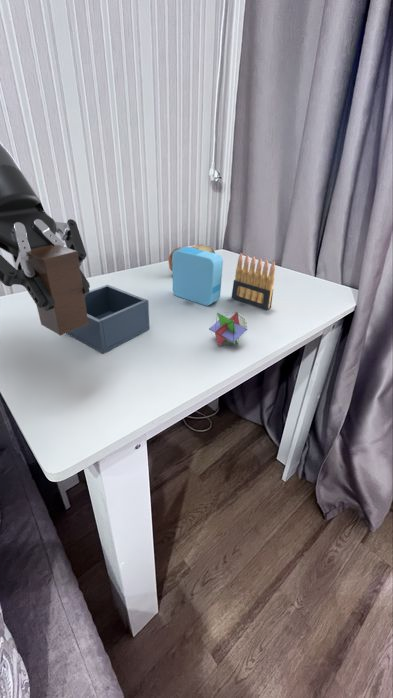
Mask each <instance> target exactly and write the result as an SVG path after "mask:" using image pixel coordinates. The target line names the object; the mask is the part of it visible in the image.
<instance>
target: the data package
mask: <svg viewBox="0 0 393 698" xmlns="http://www.w3.org/2000/svg"><path fill="white" fill-rule="evenodd" d="M183 247H184V248H181V249H179V250H176V251H174V250H173V251H174V253H173V272H172V292H173V294H174V296H176V297H179V298H182V299H185V300H187V301H190V302H193V303H196V304H200V305H203V306H206V307H208V306H210V305H212V304H214V303H215V302H216V301H218V300H219V299H220V298H221V291H222V290H221V289H222V279H223V267H224V259H223V257H222V255H220V254H219V253H216V252H215V253H212V252H208V251H203V250H199V249H195V248H191V247H187V246H183Z"/></svg>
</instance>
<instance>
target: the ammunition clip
mask: <svg viewBox="0 0 393 698" xmlns="http://www.w3.org/2000/svg"><path fill="white" fill-rule="evenodd" d="M250 260H251V261H250ZM243 261H244V262H243ZM262 261H263V259H262V257H259V259H258V261H257V263H256V256H255V255H253V256H252V258H251V259H250V256H249V254H247V253H246V256H245V258H244V260H243V253H242V252H240V253H239V255H238V257H237V264H236V269H235V275H234V279H233V282H232V283H233V284H232V291H231V296H230V298H231V299H232V300H234V301H238V302H239V303H240V302H241V303H244V304H246V305H250V306H253V307H256V308H258V309H262V310H264V311H269V310H271V308H272V305H273V304H272V302H273V297H274V296H273V294H274V284H275V272H276V262H275V260H273V261H272V262H271V265H270V268H269V260H268V259H267V258H266V259H265V261H264V264H263V262H262Z"/></svg>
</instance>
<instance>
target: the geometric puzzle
mask: <svg viewBox="0 0 393 698" xmlns="http://www.w3.org/2000/svg"><path fill="white" fill-rule="evenodd" d="M225 313H228V312H225ZM216 315H217V318H215V319H216V321H215V323H214V320H215V319H213V321H212V323H211V324H212V325H211V326H210V327H209V328H208V330H209V332H210V334H211V335H213V333H214V334H215V338H216V339H215V340H216V341H215V343H216V345H218V346H217V347H218V348H219V347H224V346H227V347H228V346H229V345H231V343H232V344H233V343H234V344H235V345H236V346H238V345H239V342H241V340H242V339H240V337H242V336H243V335H244V334H246V333H247V331H248V330H249V328H248V325H247V324H248V323H247V320H246V318H245V317H244V316H243V315H242V314H240V313H239V311H238V310H237V311H235V312H234V313H233V315H232V316H231V317H229V318H228V317H226V316H228V314H226V315H223V314H221V313H219V312H217V313H216ZM239 317H240V318H239ZM213 323H214V324H213ZM212 332H213V333H212ZM226 340H228V341H230V343H228V344H227V343H225V344H223V343H224V342H226ZM239 340H240V341H239Z"/></svg>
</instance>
